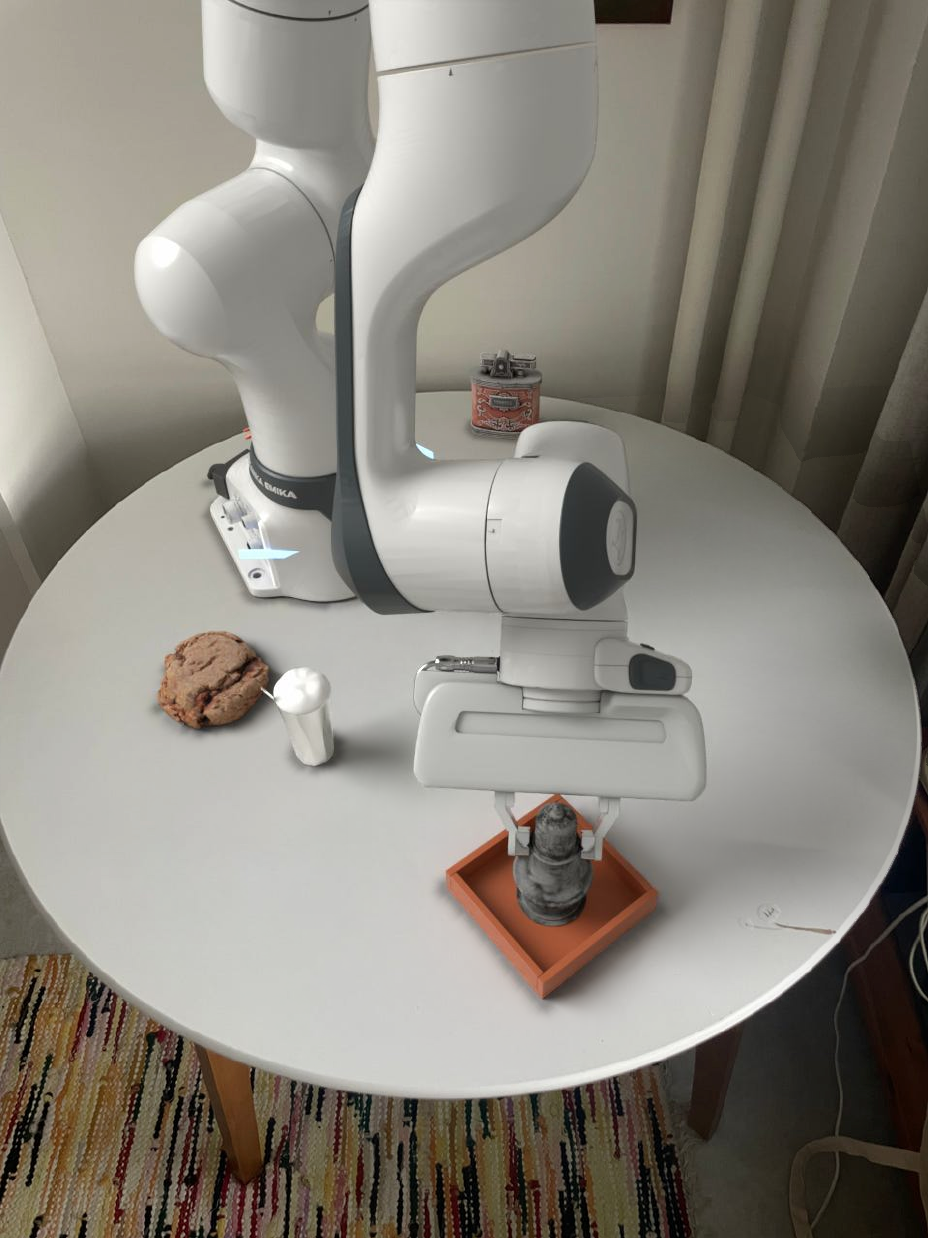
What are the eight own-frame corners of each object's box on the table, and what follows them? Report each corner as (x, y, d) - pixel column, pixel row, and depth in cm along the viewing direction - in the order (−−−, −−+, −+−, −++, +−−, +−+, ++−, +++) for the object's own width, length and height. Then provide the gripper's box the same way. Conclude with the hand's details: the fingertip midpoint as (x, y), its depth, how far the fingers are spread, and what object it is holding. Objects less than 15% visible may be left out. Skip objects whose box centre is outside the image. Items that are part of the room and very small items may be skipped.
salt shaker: (585, 937, 75) (596, 851, 66) (506, 923, 76) (506, 836, 67) (594, 866, 79) (606, 776, 70) (519, 854, 80) (521, 763, 71)
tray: (446, 887, 79) (445, 870, 77) (556, 809, 83) (557, 791, 81) (542, 999, 72) (543, 984, 71) (655, 908, 77) (659, 892, 75)
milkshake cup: (273, 743, 89) (252, 667, 81) (332, 722, 90) (317, 646, 83) (288, 783, 86) (268, 708, 78) (349, 761, 87) (335, 685, 80)
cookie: (242, 628, 98) (236, 606, 96) (286, 702, 92) (281, 680, 89) (141, 669, 95) (133, 647, 93) (180, 749, 88) (171, 727, 86)
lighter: (468, 435, 118) (466, 359, 111) (473, 418, 120) (471, 342, 113) (538, 441, 117) (541, 364, 110) (541, 423, 119) (544, 347, 112)
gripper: (409, 656, 69) (401, 859, 70) (716, 669, 68) (706, 877, 68) (420, 651, 76) (413, 837, 76) (701, 663, 74) (693, 853, 75)
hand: (554, 856), depth 72 cm, fingers closed on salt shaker, 4 cm apart
